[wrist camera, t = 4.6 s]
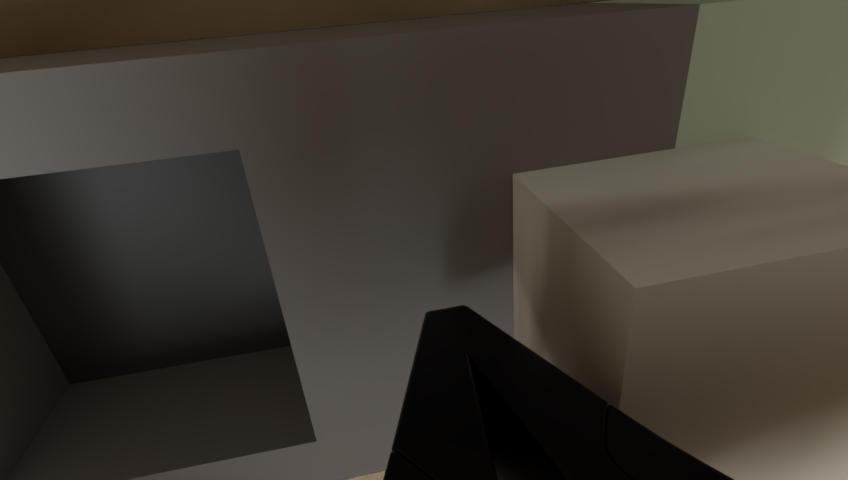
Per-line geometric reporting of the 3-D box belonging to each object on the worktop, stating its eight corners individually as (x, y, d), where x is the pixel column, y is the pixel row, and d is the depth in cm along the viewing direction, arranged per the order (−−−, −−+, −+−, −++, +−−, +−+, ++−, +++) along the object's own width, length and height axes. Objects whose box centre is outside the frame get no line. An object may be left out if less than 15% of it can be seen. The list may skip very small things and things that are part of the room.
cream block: (706, 333, 12) (869, 476, 8) (513, 374, 11) (599, 545, 8) (753, 136, 9) (1007, 216, 6) (512, 174, 9) (635, 288, 5)
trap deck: (999, 247, 18) (1157, 306, 15) (60, 420, 14) (-27, 558, 11) (1167, -53, 14) (1454, -71, 10) (-154, 73, 10) (-433, 115, 6)
